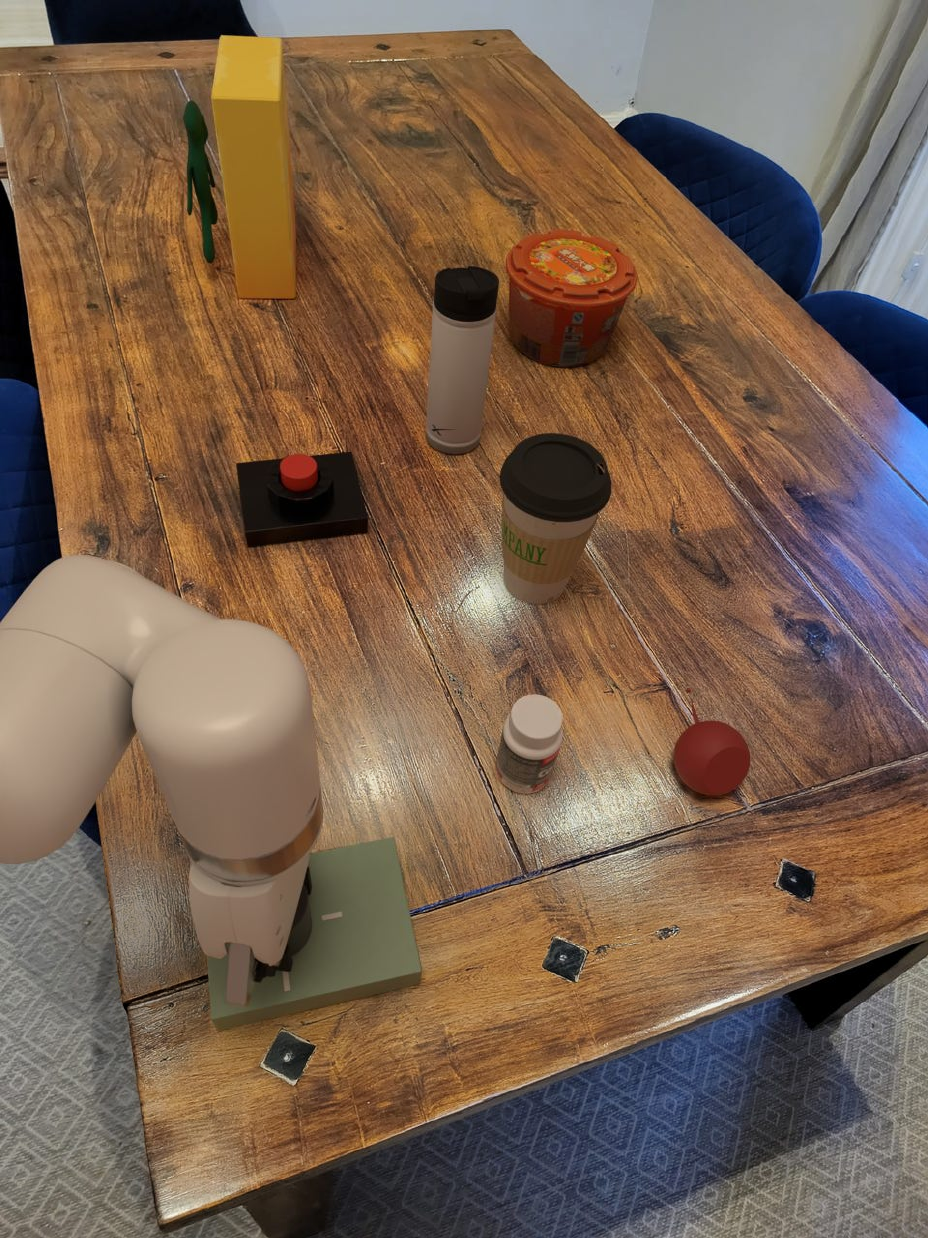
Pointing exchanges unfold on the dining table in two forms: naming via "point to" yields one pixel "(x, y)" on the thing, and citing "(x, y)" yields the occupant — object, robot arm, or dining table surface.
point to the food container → (566, 296)
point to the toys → (248, 166)
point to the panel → (336, 940)
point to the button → (299, 472)
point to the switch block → (301, 502)
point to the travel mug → (460, 357)
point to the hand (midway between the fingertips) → (279, 925)
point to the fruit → (711, 756)
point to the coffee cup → (549, 512)
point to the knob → (300, 924)
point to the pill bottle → (529, 744)
